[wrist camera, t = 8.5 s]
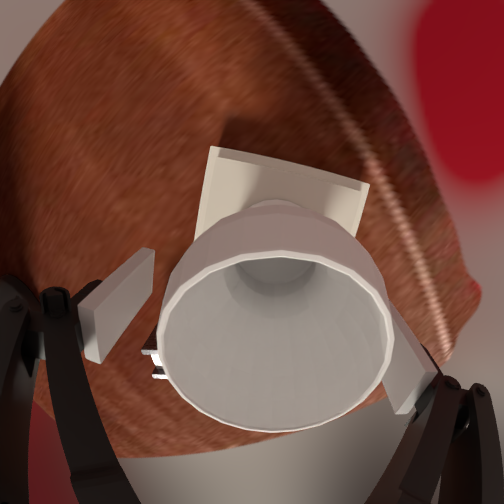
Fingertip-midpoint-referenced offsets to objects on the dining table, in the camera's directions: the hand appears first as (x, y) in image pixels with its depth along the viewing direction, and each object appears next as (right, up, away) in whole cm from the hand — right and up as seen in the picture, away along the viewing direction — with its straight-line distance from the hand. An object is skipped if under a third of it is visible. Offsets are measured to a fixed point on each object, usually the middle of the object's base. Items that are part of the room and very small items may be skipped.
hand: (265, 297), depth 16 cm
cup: (+1, +3, +9) cm, 10 cm away
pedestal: (+1, +4, +13) cm, 13 cm away
